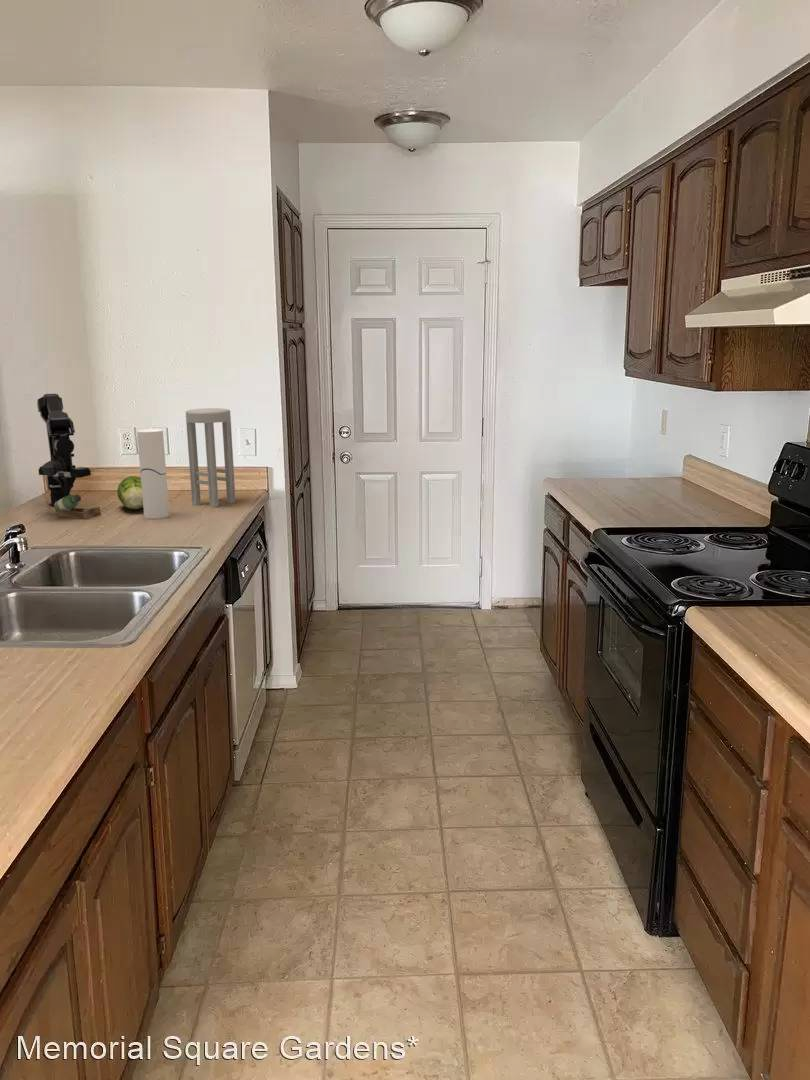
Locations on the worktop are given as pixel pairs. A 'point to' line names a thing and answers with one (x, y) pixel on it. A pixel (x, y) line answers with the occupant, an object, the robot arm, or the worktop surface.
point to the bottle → (67, 502)
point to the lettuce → (131, 492)
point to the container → (153, 473)
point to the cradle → (80, 513)
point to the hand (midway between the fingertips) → (67, 495)
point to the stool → (210, 454)
